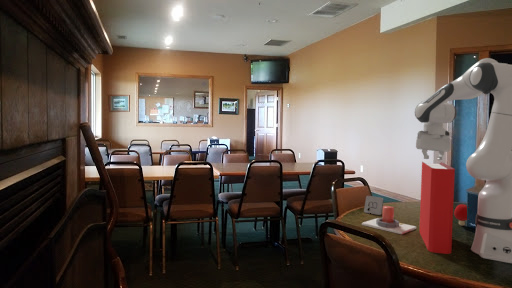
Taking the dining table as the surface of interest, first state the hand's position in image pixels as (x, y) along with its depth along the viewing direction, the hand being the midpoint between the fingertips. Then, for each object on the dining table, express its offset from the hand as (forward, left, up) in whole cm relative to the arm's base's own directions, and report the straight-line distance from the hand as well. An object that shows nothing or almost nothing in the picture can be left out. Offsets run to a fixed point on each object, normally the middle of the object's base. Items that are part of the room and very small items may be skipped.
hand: (433, 159), depth 187 cm
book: (-15, +33, -31) cm, 48 cm away
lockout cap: (+9, +27, -30) cm, 41 cm away
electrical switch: (+28, +7, -31) cm, 42 cm away
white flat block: (+9, +26, -31) cm, 41 cm away
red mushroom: (-13, -3, -31) cm, 34 cm away
